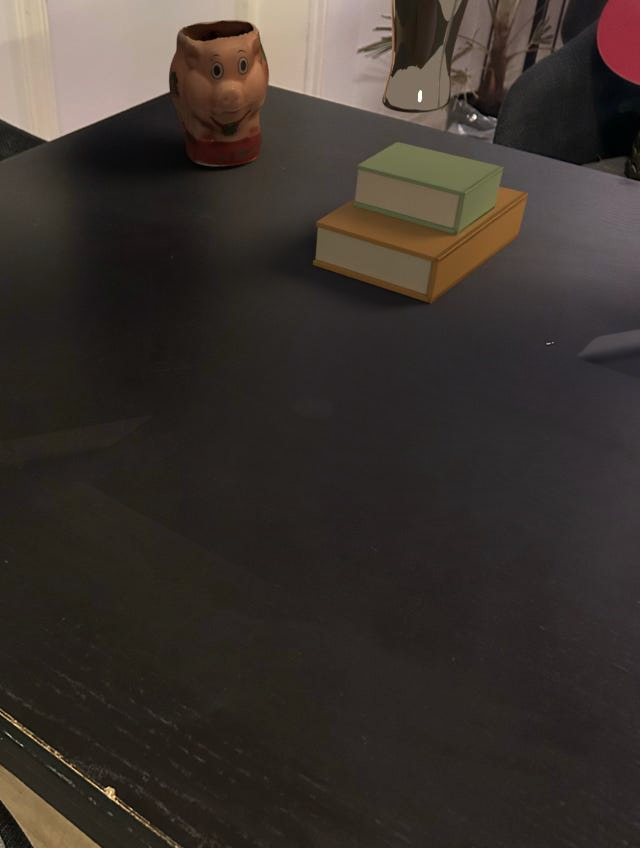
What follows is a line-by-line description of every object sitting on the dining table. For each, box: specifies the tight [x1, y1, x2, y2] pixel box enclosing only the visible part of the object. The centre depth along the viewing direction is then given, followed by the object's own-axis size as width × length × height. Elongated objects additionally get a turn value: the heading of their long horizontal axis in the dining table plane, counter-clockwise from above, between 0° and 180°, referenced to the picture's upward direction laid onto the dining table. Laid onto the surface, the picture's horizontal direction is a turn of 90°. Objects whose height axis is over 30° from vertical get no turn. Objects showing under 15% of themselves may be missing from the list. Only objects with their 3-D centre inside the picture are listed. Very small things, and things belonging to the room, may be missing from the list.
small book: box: [353, 141, 504, 235], centre depth 91 cm, size 12×8×4 cm, turn 49°
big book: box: [312, 185, 529, 304], centre depth 94 cm, size 14×18×4 cm
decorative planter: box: [168, 19, 270, 167], centre depth 112 cm, size 20×12×14 cm, turn 13°
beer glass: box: [381, 0, 469, 114], centre depth 78 cm, size 7×7×15 cm
